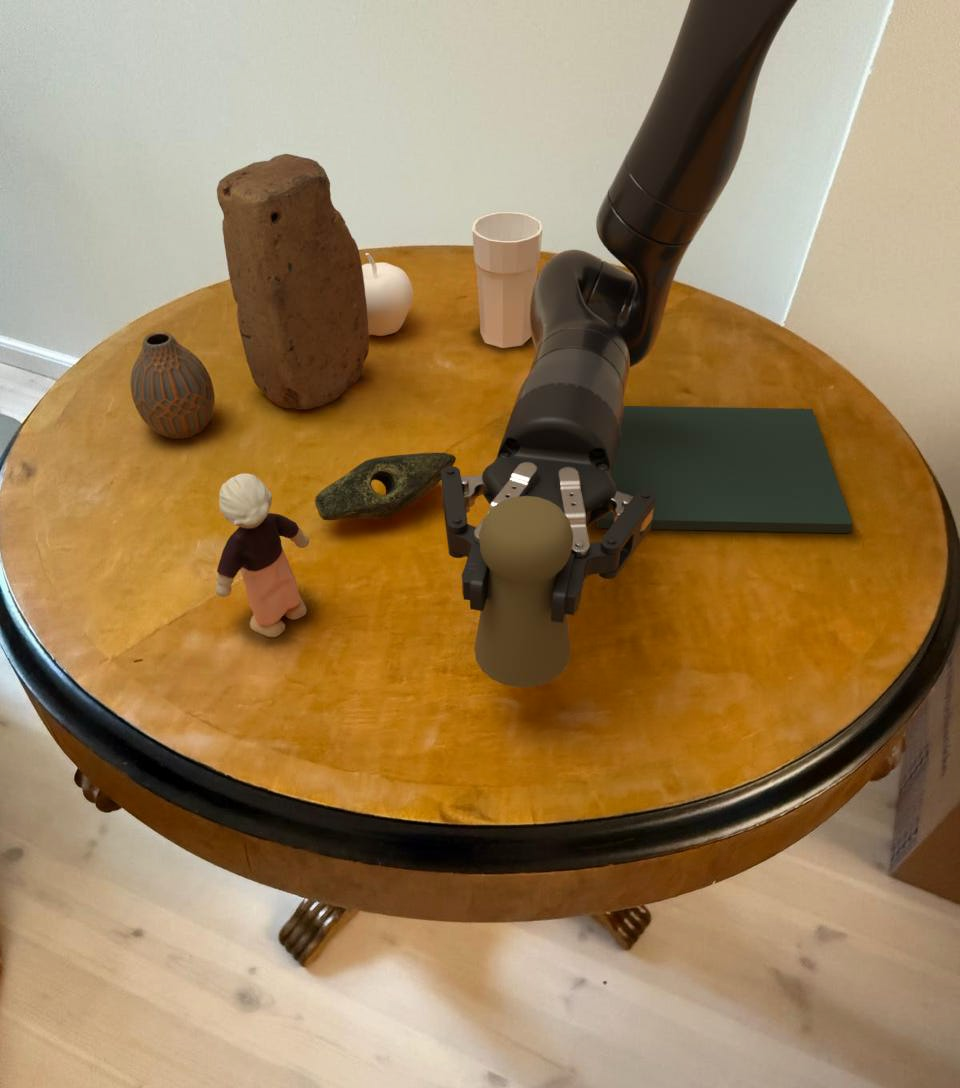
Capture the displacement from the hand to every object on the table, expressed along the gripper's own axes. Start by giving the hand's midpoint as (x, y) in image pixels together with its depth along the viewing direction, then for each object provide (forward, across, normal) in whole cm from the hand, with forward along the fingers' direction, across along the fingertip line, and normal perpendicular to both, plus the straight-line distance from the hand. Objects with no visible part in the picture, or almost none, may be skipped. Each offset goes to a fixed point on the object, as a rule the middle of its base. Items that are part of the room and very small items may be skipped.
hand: (517, 605), depth 52 cm
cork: (-3, 0, +7) cm, 7 cm away
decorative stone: (-21, -15, +12) cm, 28 cm away
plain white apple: (-48, -24, +12) cm, 55 cm away
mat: (-31, +11, +12) cm, 35 cm away
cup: (-50, -10, +12) cm, 52 cm away
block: (-37, -26, +12) cm, 47 cm away
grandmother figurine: (-7, -19, +12) cm, 24 cm away
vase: (-28, -36, +12) cm, 47 cm away
